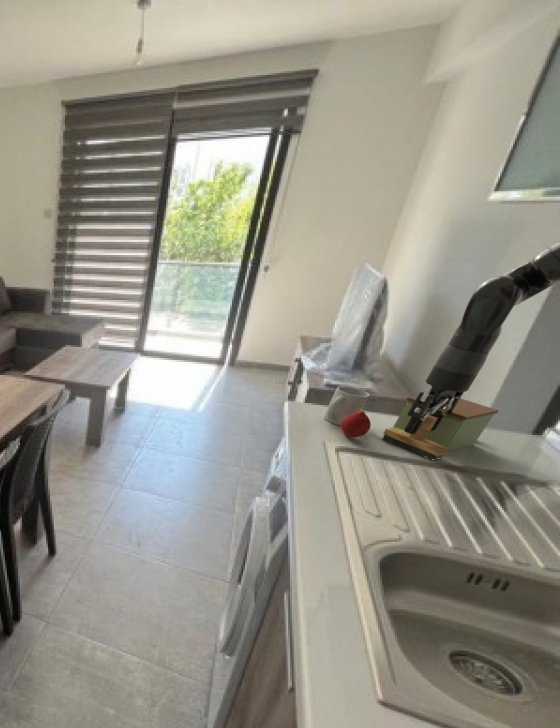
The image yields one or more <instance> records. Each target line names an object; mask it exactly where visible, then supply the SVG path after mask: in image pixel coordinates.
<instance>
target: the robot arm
mask: <svg viewBox="0 0 560 728" xmlns="http://www.w3.org/2000/svg"><path fill="white" fill-rule="evenodd" d="M557 283H560V241H557V242H556V243H555V244H552V245H551V246H549V247H547V248H546V249H543V250H542V251H540V252H539V253H537V254H535V256H533V257H532V259H530V260H528V261H527V262H525V263H523V264H521V265H519V266H516V267H515V268H513V269H512V270H510V271H508V272H506V273H504V274H501V275H499V276H494V277H491V278H488V279H486V280H485V281H483V282H481V283H480V284H479V285H478V286H477V288H475V290H474V291H473V293H472V295H471V296H470V298H469V300H468V303H467V305H466V308H465V310H464V312H463V316H462V317H461V320H460V323H459V325H458V326H457V328H456V329H455V331H454V332H453V334H452V336H451V337H450V339H449V341H448V343H447V344H446V346H445V347H444V349H443V350H442V351H441V352H440V354H439V356H438V358H437V360H436V361H435V363H434V365H433V366H432V368H431V370H430V372H429V374H428V375H427V377H426V379H425V383H426V384H427V385H429V386H430V387H431V388H430V389H429V390H428V391H427V392H424V391H420V392H419V393H418V395H417V396H418V397H417V398H416V400H415V402H414V403H413V405H412V407H411V409H410V410H409V412H408V414H407V415H409V416H410V417H411V419H410V421H409V423H408V424H407V426H406V428H405V430H404V431H405V432H407V433H409V434H412V435H413V434H416V433H417V431H418V430H419V428H420V426H421V425H422V423H423V421H424V420H425V419H426V418H427V417H428V415H430V414H431V416H434V417H437V418H438V419H437V421H436V422H435V424H434V426H433V427H432V429H431V431H434V430H436V428H437V427H438V425H439V423H440V422H441V420H442V418H443V417H445V416H446V415H447V414H451V413H452V411H453V410H454V408H455V406H456V404H457V403H458V401H459V399H460V398H461V399H462V397H463V395H464V393H465V392H466V393H467V391H469V390H470V388H471V386H472V384H473V383H474V381H475V379H476V378H477V376H478V375H479V373H480V371H481V370H482V368H483V367H484V365H485V364H486V361H487V359H488V356H489V354H490V352H491V351H492V349H493V348H494V346H495V345H496V343H497V341H498V339H499V338H500V335H501V334H502V326H503V325H504V323H505V321H506V320H507V318H508V316H509V315H510V313H511V311H512V310H513V308H514V307H516V306H517V305H519V304H521V303H524V302H526V301H527V300H529V299H531V298H532V297H534V296H536V295H538V294H540V293H542V292H543V291H545V290H547V289H549V288H550V287H552V286H554V285H555V284H557ZM416 408H417V409H416ZM415 409H416V410H415ZM419 412H420V413H419Z"/></svg>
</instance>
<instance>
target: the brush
mask: <svg viewBox="0 0 560 728" xmlns="http://www.w3.org/2000/svg"><path fill="white" fill-rule="evenodd" d="M437 419H438V418H437V417H434V416H431V415H428V417H427V418H426V419H425V420H424V421H423V423H422V425H421V426H420V428H419V430H418V431H417V433H416V434H413V435H412V434H409V433H407V432H405V431H404V430H402V429H399V428H397V427H394V426H392V427H389V428H385V429H384V431H383V433H382V434H383V436H382V438H381V440H383V441H384V442H388V443H390V444H392V445H394V446H396V447H399V448H401V449H404V450H406V451H409V452H411V453H414V454H416V455H418V454H419V455H418V456H421V455H422V456H421V457H423V456H426V457H428V458H431V459H438V458H441V459H442V458H443V457H444V455H447V454H448V452H450V451H449V449H450V448H448V447H445V446H443V445H440V444H438V443H435V442H432V441H430V440H427V439H426V437H427V436H428V434H429V432H430V431H431V429H432V427H433V426H434V424H435V422H436V421H437ZM428 458H427V459H428ZM438 460H439V459H438Z"/></svg>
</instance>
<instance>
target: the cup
mask: <svg viewBox="0 0 560 728" xmlns="http://www.w3.org/2000/svg"><path fill="white" fill-rule="evenodd" d="M369 397H370V393H368V392H367V391H366V390H362V389H360V388H356V387H352V386H345V385H344V386H343V385H340V386H337V387H336V390H335V392H334V393H333V396H332V398H331V400H330V402H329V404H328V406H327V408H326V411H325V413H324V415H323V417H324V419H325V421H327V422H328V423H330V424H334V425H336V426H341V422H342V420H343V419H344V418H345V417H346V416H348V415H350V414H352V413H356V412H358V411H359V410H360V409H362V410H364V409H363V408H364V407H365V405H366V403H367V401H368V399H369Z"/></svg>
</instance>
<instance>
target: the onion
mask: <svg viewBox="0 0 560 728" xmlns="http://www.w3.org/2000/svg"><path fill="white" fill-rule="evenodd" d="M371 425H372V424H371V419H370V417H369V416H368V415H367V414H366V412H365V409H360V410H359V411H358V412H356V413H352V414H350V415H348V416H346V417H345V418H344V419H343V420H342V422H341V425H340V429H341V431H342V432H343V434H344V436H345V437H346V438H347V439H354V438H359V437H362V436H364V435H366V434H367V433H368V432H369V431H370V430H371Z"/></svg>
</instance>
